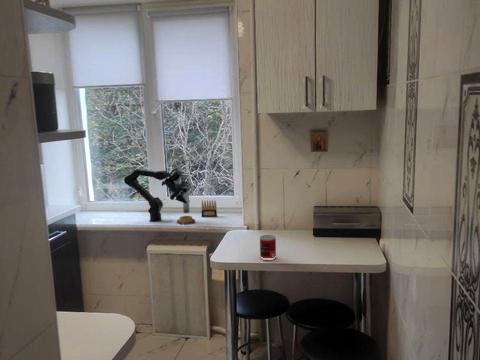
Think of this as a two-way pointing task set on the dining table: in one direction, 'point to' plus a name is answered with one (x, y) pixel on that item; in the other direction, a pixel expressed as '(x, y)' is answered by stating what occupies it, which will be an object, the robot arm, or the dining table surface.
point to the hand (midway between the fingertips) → (188, 202)
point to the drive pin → (186, 206)
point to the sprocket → (185, 220)
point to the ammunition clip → (209, 209)
